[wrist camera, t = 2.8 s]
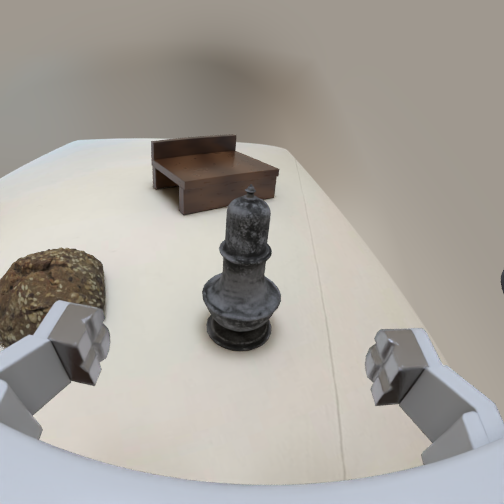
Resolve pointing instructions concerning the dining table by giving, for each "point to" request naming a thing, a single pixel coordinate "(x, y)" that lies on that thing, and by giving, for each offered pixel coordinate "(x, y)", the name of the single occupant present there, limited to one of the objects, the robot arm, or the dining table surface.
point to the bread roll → (46, 289)
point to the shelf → (209, 171)
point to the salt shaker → (243, 279)
